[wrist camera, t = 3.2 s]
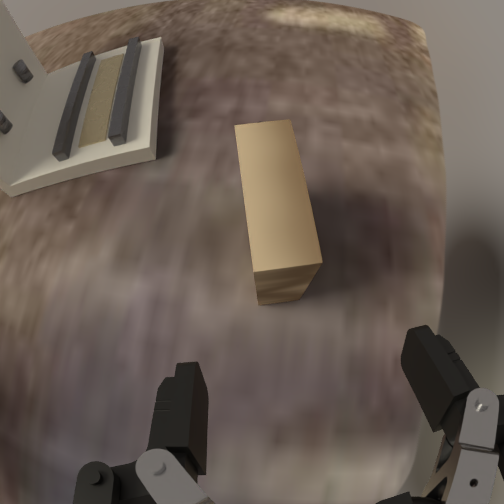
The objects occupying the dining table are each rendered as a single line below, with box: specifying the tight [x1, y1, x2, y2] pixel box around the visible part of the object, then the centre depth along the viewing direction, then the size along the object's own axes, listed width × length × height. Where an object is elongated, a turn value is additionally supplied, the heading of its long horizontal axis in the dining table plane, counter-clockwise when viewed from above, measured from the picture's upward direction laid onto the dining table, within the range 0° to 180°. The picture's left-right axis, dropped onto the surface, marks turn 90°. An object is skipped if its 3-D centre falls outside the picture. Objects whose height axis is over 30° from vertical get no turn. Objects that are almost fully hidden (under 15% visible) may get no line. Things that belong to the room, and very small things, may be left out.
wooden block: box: [235, 120, 323, 305], centre depth 20 cm, size 3×9×10 cm, turn 7°
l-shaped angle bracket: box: [0, 0, 164, 197], centre depth 22 cm, size 18×18×18 cm
